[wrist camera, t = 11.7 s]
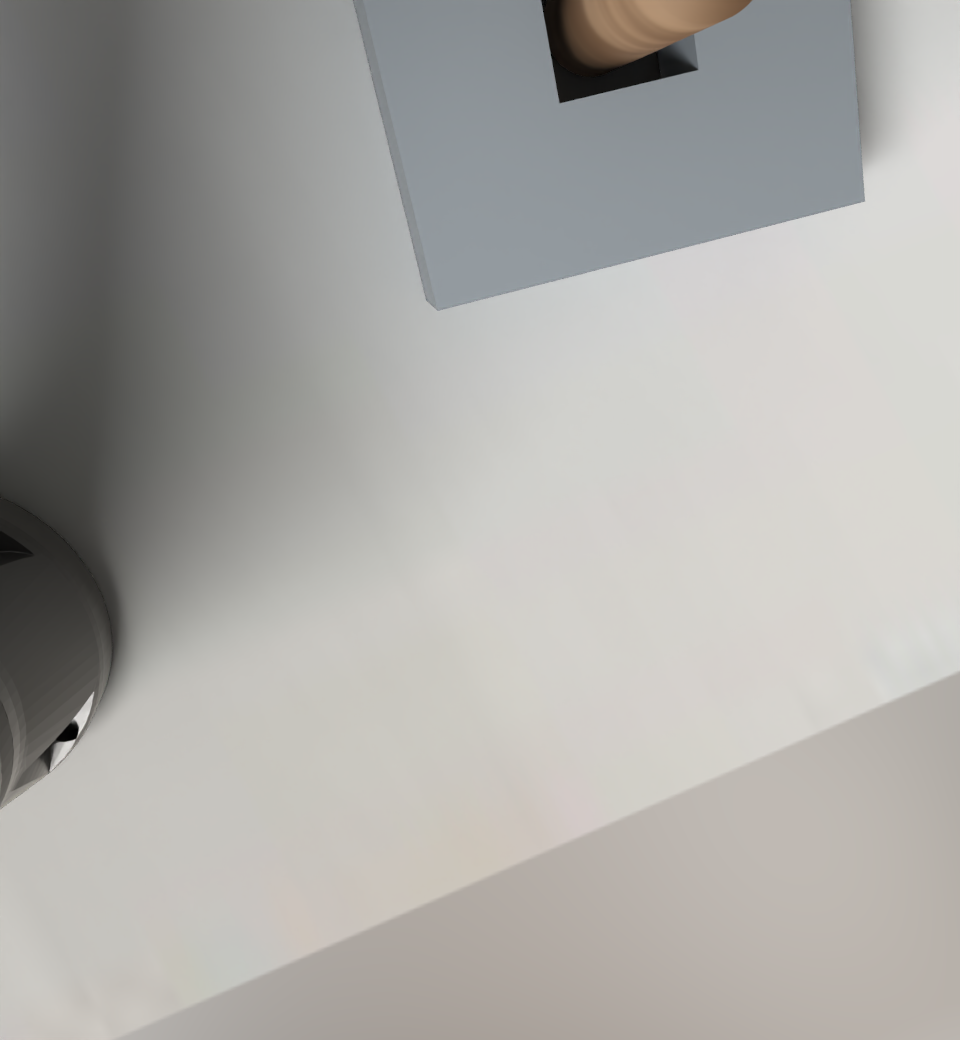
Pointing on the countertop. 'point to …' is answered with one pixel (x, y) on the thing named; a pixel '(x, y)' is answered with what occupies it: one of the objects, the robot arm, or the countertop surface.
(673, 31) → the peg
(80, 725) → the robot arm
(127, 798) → the countertop surface
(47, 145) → the countertop surface
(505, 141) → the socket board
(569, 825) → the countertop surface
